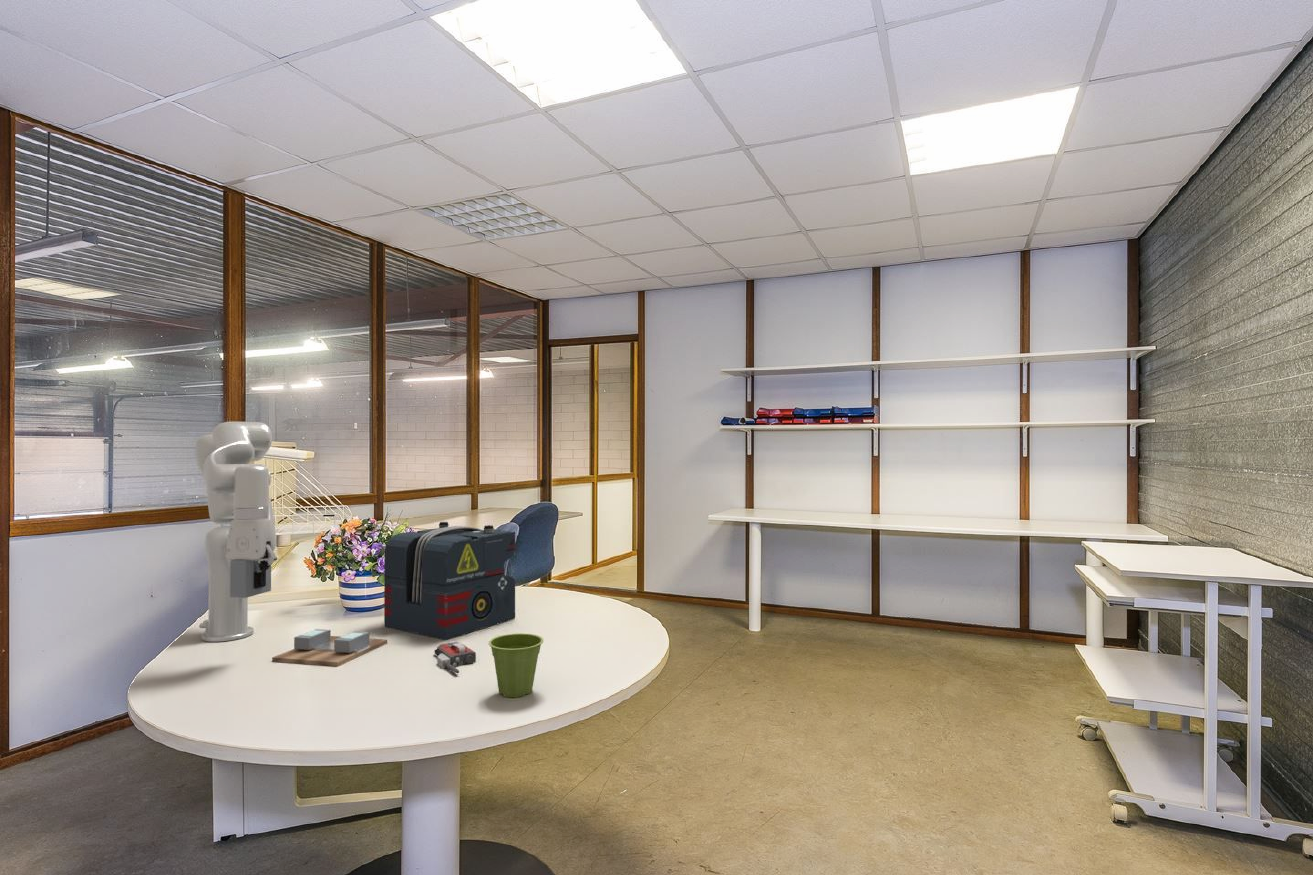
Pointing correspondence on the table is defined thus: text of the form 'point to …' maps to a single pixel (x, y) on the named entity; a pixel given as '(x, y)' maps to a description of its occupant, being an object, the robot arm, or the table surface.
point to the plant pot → (515, 662)
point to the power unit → (448, 580)
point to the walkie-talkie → (454, 655)
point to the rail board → (329, 648)
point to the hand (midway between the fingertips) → (251, 586)
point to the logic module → (246, 579)
